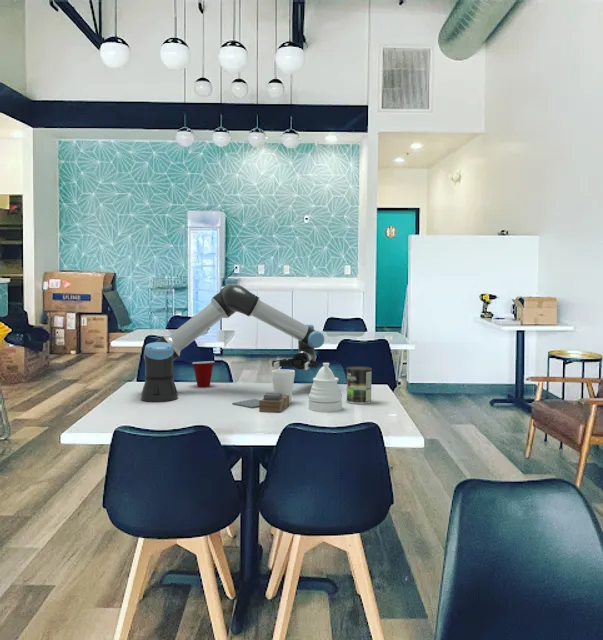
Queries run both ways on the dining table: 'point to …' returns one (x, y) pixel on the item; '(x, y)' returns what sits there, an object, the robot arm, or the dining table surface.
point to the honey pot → (325, 392)
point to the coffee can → (359, 385)
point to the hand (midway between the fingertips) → (289, 366)
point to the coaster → (248, 403)
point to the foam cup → (283, 382)
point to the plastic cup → (203, 372)
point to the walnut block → (273, 402)
